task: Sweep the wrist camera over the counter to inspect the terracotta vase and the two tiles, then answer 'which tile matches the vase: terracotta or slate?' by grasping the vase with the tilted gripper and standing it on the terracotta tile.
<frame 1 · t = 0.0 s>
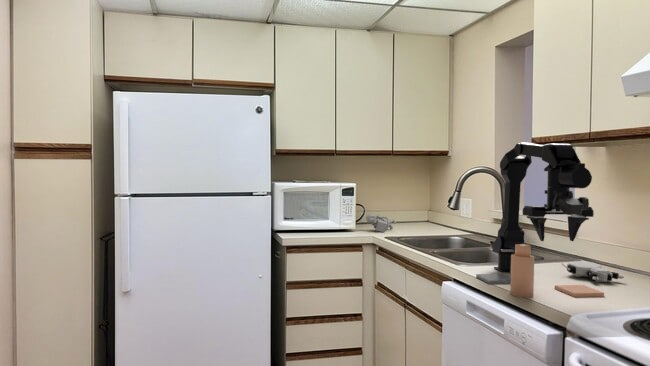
hand: (557, 241, 134), 15 cm above the table, tool pointing down, fingers open, 9 cm apart
slate tile: (496, 280, 148), on the table
terracotta tile: (578, 292, 134), on the table
robot toy: (591, 279, 152), on the table
terracotta vase: (521, 294, 131), on the table
figurine: (382, 231, 265), on the table
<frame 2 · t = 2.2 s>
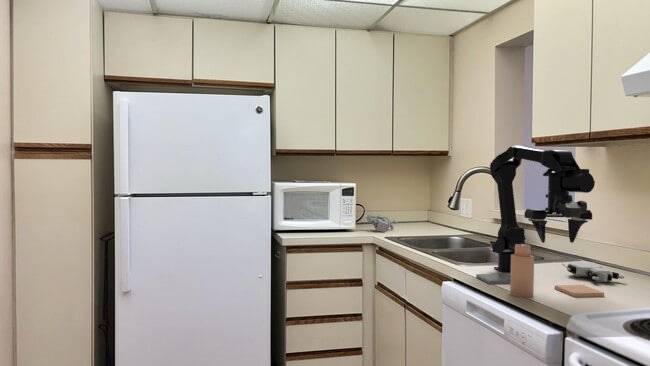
hand: (557, 242, 141), 13 cm above the table, tool pointing down, fingers open, 9 cm apart
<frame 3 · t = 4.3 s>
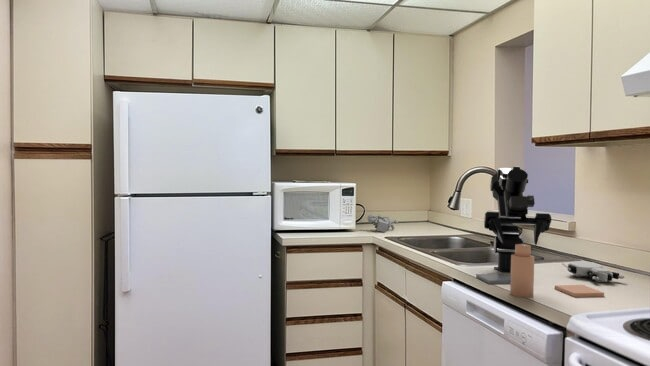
hand: (519, 243, 138), 13 cm above the table, tool tilted 45°, fingers open, 9 cm apart
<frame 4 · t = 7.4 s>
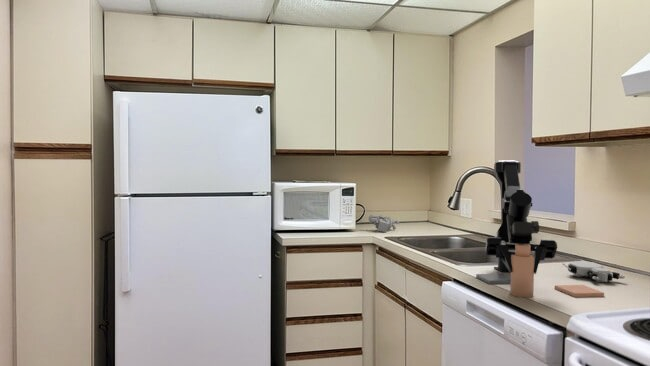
hand: (523, 272, 129), 7 cm above the table, tool tilted 45°, fingers closed on terracotta vase, 6 cm apart
terracotta vase: (521, 294, 131), on the table, touching gripper
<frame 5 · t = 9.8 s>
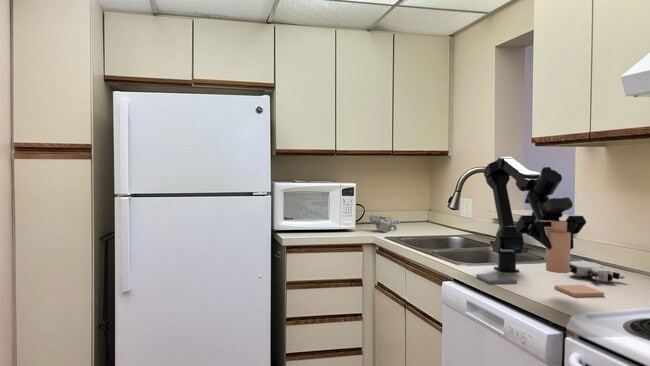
hand: (561, 248, 130), 13 cm above the table, tool tilted 45°, fingers closed on terracotta vase, 6 cm apart
terracotta vase: (557, 270, 131), point 7 cm above the table, touching gripper
when the fingers open (9 cm above the table, at t = 12.1 s): terracotta vase drops 1 cm, resting on terracotta tile.
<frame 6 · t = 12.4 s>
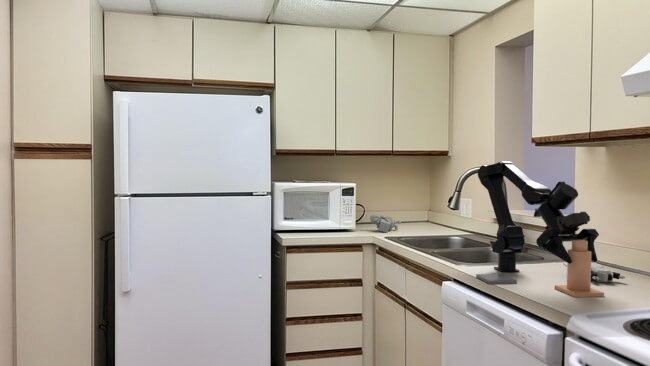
hand: (583, 262, 132), 9 cm above the table, tool tilted 45°, fingers open, 9 cm apart
terracotta vase: (578, 288, 134), point 1 cm above the table, touching terracotta tile
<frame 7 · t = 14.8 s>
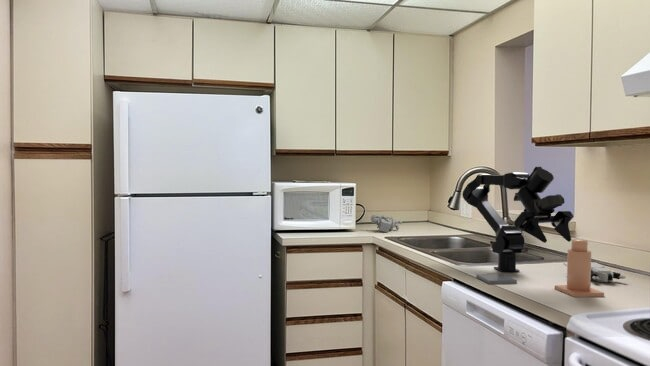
hand: (558, 241, 141), 14 cm above the table, tool tilted 45°, fingers open, 9 cm apart
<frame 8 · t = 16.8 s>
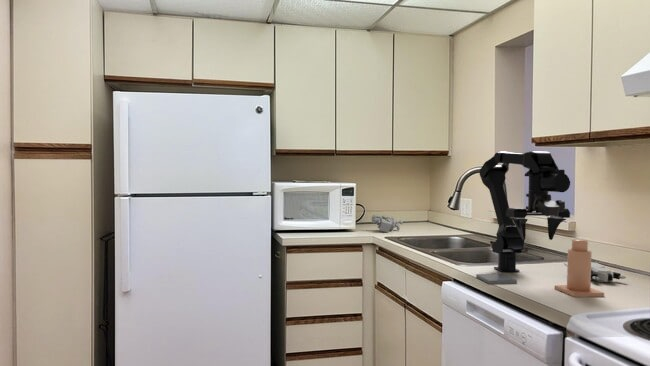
hand: (537, 239, 148), 13 cm above the table, tool pointing down, fingers open, 9 cm apart
at the end: terracotta vase 0.1 cm off-centre on the terracotta tile, point 1.1 cm above the terracotta tile's base; terracotta vase tilted 1°; the gripper is holding nothing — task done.
